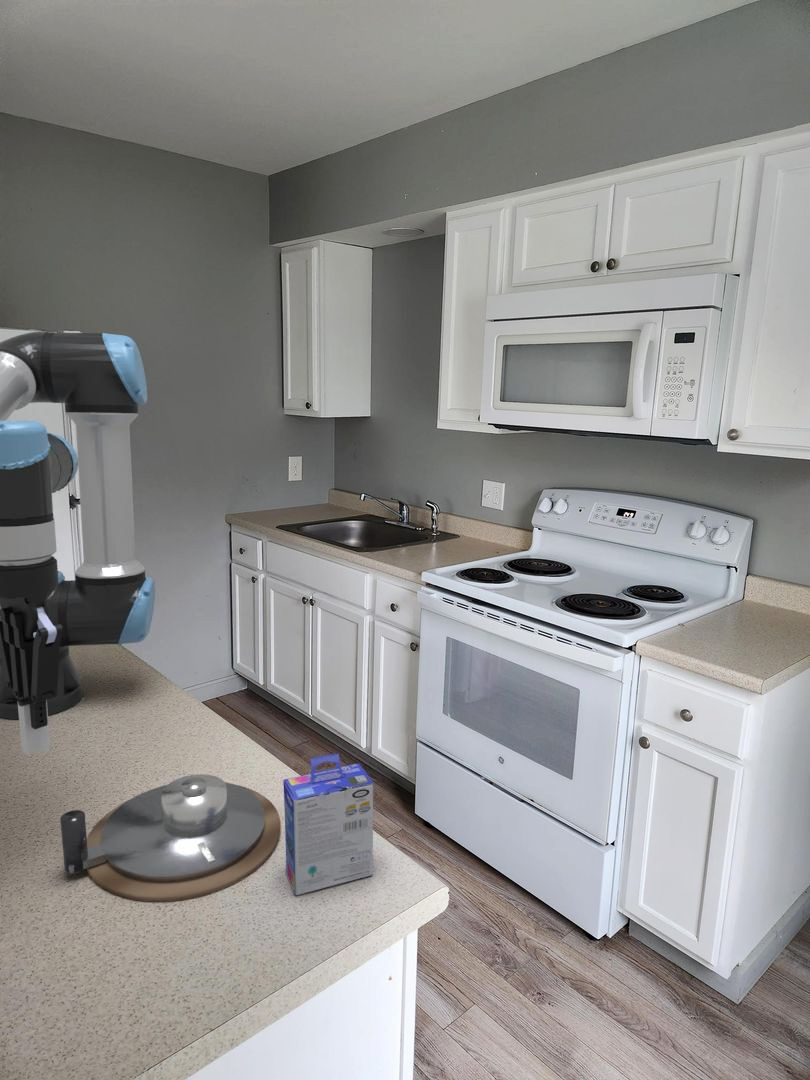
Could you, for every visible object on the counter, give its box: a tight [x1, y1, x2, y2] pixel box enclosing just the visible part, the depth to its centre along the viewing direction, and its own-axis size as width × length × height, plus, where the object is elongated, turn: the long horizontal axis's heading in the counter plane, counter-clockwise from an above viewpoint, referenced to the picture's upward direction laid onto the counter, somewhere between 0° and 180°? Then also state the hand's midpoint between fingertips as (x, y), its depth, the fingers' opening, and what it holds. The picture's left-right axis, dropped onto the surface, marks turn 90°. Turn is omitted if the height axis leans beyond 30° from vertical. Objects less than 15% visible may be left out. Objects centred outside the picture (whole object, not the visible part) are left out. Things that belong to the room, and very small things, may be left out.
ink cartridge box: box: [282, 753, 375, 896], centre depth 86 cm, size 10×6×14 cm, turn 114°
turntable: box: [60, 781, 265, 882], centre depth 92 cm, size 20×24×6 cm
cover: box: [161, 774, 227, 838], centre depth 93 cm, size 8×8×5 cm
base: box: [85, 784, 281, 903], centre depth 94 cm, size 24×24×1 cm
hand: (36, 749), depth 88 cm, fingers closed
